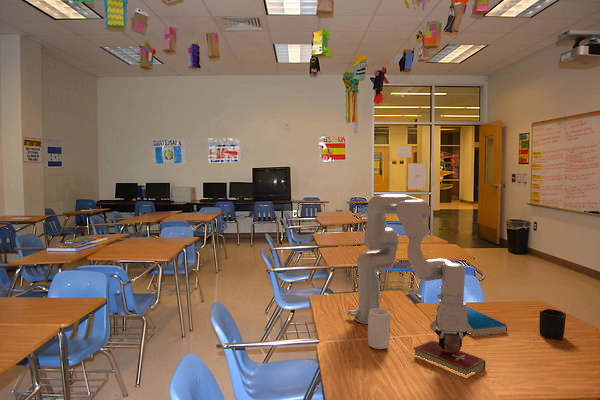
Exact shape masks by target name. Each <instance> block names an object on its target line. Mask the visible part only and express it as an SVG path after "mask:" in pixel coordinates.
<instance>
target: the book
mask: <svg viewBox="0 0 600 400" xmlns="http://www.w3.org/2000/svg"><path fill="white" fill-rule="evenodd" d="M466 307H467V318H468V324H469V325H470V326H471V328H472V331H471V332H469V333H471V334H472V335H471V334H470V335H471V336H473V335H474V336H473V337H475V336H476V337H481V335H484V336H490V335H489V334H492V335H499V334H506V333H507V331H508V327H507V324H506V323H503V322H502V321H500V320H497V319H495V318H493V317H491V316H489V315H486V314H485V313H482V312H480V311H478V310H475V309H473V308H472V307H469V306H467V305H466ZM469 333H468V334H469ZM498 333H499V334H498Z"/></svg>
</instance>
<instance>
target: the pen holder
mask: <svg viewBox="0 0 600 400" xmlns="http://www.w3.org/2000/svg"><path fill="white" fill-rule="evenodd" d="M566 317H567V314H566V313H565V312H563V311H561V310H559V309H558V310H557V309H553V308H552V309H551V308H545V309H543V310H539V323H538V325H539V334H540V336H542V337H544V338H546V339H550V340H557V341H558V340H563V339H564V337H565V329H566V320H567V318H566Z"/></svg>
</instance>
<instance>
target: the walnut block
mask: <svg viewBox="0 0 600 400" xmlns="http://www.w3.org/2000/svg"><path fill="white" fill-rule="evenodd" d="M443 350H444V352H449V353H459V351H461V347H460V335H459V334H458V333H457V332H446V331H445V334H444V349H443Z"/></svg>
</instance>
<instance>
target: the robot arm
mask: <svg viewBox="0 0 600 400" xmlns="http://www.w3.org/2000/svg"><path fill="white" fill-rule="evenodd" d="M366 207H367V209H366V212H367V219H366V224H365V225H366V226H365V231H364V237H363V245H364V248H366V249H367V250H369V251H363V252H361V253H360V254H359V255H358V256H357V259H356V263H357V264H356V265H357V271H358V303H357V304H358V306H357V307H356V309H355V310H351V309H350V310H347V315H350V317H354V321H355V320H356V321H357V323H358V322H360V323H359V324H361V323H363V324H362V325H365V324H368V317H369V311H370V310H371V309H374V308H380V305H381V304H380V300H381V299H380V296H381V281H380V278H379V276H378V272H386V271H387V272H388V271H390V270H391V269H392V268H393V267H394V265H395V261H396V257H397V251H398V246H399V236H398V234H397V231H396V230H395V229H394V228H391V227H387V223H388V222H387V217H386V215H388V216H389V215H396V216H397V218H398V219H399V222H400V224H401V226H402V228H403V230H404V232H405V234H406V236H407V238H408V245H407V260H408V262H409V264H410V267H411V268H412V270H413V273H414V274H415V276H416V277H417V278H418V279H419V280H421V281H422V282H429V281H435V280H437V281H438V280H441V285H440V286H441V288H440V293H438V294H436V298H437V299H439V300H438V304H437V308H436V312H435V313H436V314H435V319H434V321H432V323H431V324H430V325H429V329H430V330H431V331H433V332H434V333H435V334H436V335H437V336H438V343H439V346H440V347H441V348H442V349H444V334H445V331H446V332H457V333H458V334H459V335H460V348H462V346H463V339H464V338H465V337H466V336H467V335H468V334H469V332H471V331H472V328H471V326H470V325H469V324H468V318H467V307H468V306H467V303H466V302H465V301H464V298H465V278H466V277H465V276H466V275H465V274H466V273H465V272H466V268H465V266H464V265H463V264H461V263H458V262H452V261H451V260H449V259H446V258H441V257H440V258H431V259H430V258H429V259H428V258H427V259H426V257H425V255H424V253H423V251H422V245H421V244H422V242H423V241H425V240H426V239H427V238H428V237H429V236H430V235H431V230H430V228H429V227H428V224H427V223H426V220H428V219H429V217H430V216H431V207H430V205H429V203H428V202H427V201H425V200H424V199H421V198H417V197H414V196H411V195H409V194H408V195H407V194H377V195H373V196H372V197H371V198H370V199H369V200H368V203H367V206H366ZM466 306H467V307H466ZM356 321H355V322H356ZM436 327H437V328H436Z"/></svg>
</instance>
